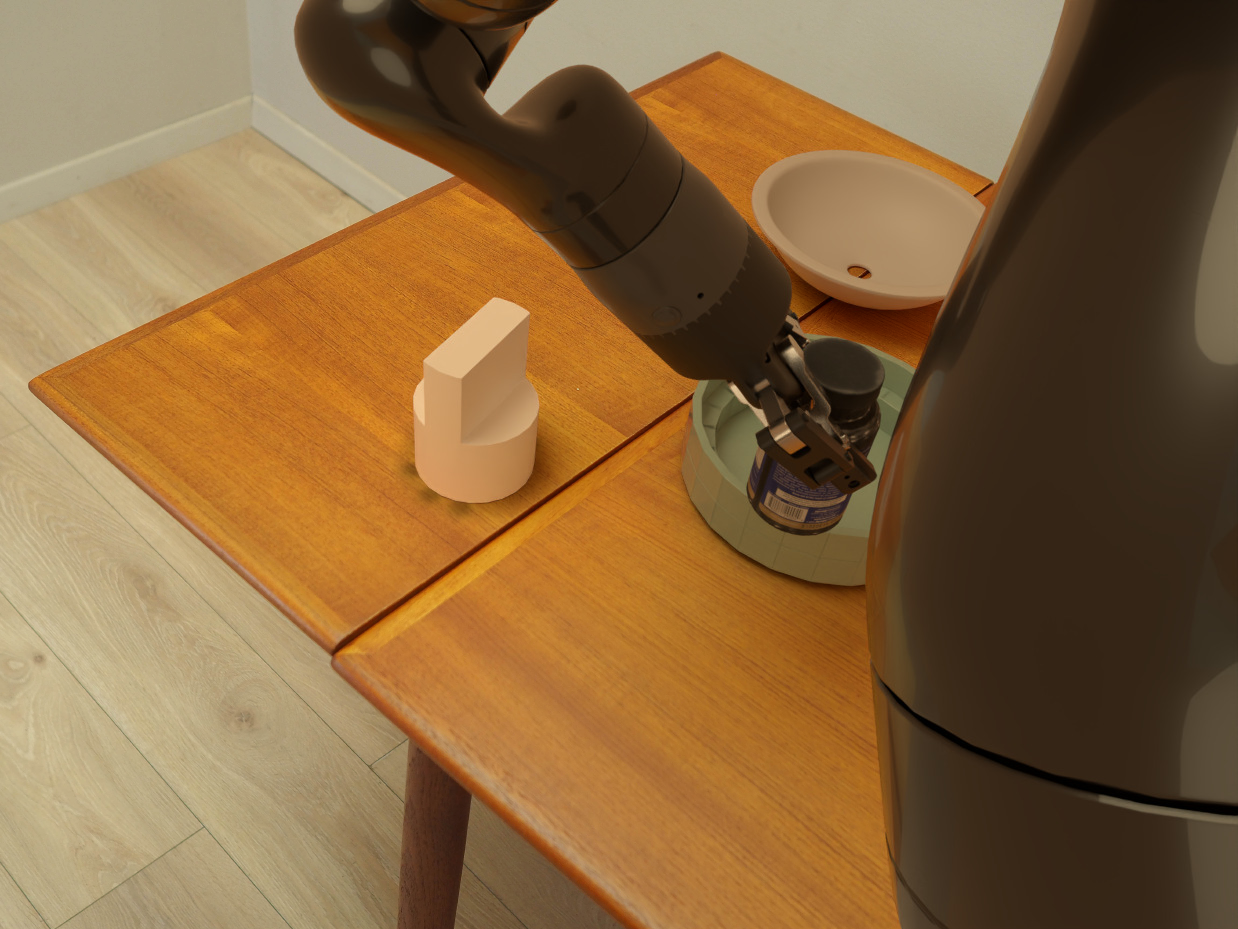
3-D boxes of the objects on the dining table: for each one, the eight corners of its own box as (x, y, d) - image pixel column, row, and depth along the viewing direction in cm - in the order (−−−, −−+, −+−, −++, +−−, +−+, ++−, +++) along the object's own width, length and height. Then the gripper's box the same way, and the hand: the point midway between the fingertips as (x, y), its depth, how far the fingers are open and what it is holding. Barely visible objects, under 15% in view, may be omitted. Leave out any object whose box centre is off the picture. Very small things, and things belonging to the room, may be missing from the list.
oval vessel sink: (932, 391, 92) (959, 332, 87) (694, 282, 99) (706, 222, 94) (1010, 266, 107) (1037, 210, 102) (799, 179, 114) (814, 123, 109)
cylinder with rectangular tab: (459, 402, 84) (460, 279, 75) (556, 448, 82) (569, 327, 73) (390, 469, 78) (383, 345, 69) (492, 521, 76) (498, 399, 67)
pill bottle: (863, 520, 64) (923, 386, 56) (783, 553, 61) (835, 417, 53) (802, 453, 67) (850, 317, 59) (724, 481, 64) (764, 343, 57)
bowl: (997, 574, 78) (1029, 522, 74) (723, 605, 73) (740, 550, 69) (887, 381, 92) (909, 327, 88) (651, 395, 87) (662, 339, 83)
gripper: (779, 318, 44) (945, 501, 54) (712, 139, 53) (864, 324, 64) (637, 411, 47) (821, 568, 57) (598, 224, 56) (762, 388, 67)
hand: (843, 438), depth 61 cm, fingers closed on pill bottle, 6 cm apart
